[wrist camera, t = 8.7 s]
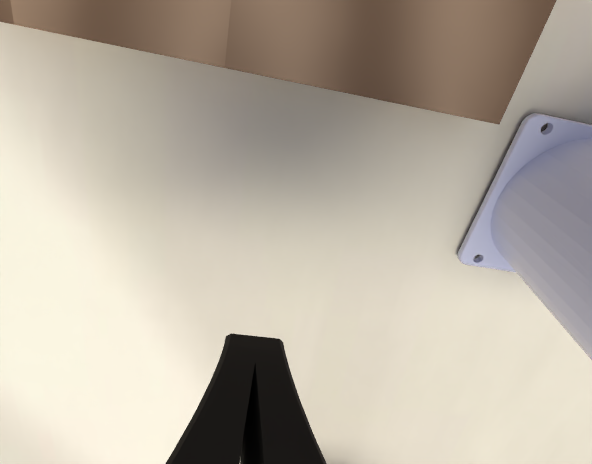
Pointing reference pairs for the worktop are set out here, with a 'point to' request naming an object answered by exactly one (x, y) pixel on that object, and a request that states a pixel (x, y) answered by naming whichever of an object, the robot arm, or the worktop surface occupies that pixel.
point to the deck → (327, 42)
